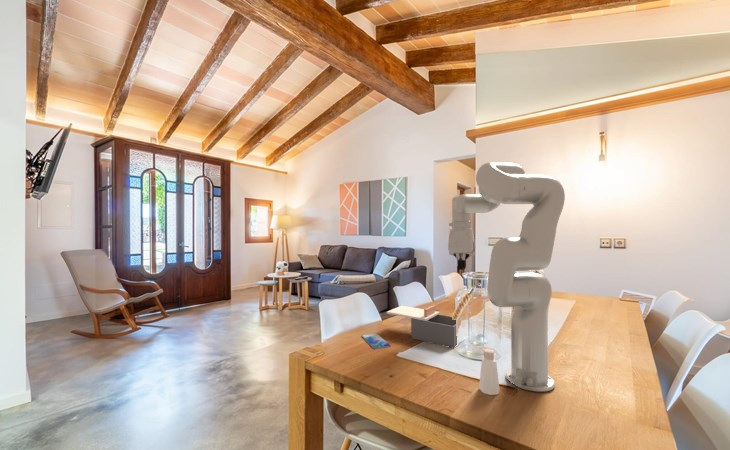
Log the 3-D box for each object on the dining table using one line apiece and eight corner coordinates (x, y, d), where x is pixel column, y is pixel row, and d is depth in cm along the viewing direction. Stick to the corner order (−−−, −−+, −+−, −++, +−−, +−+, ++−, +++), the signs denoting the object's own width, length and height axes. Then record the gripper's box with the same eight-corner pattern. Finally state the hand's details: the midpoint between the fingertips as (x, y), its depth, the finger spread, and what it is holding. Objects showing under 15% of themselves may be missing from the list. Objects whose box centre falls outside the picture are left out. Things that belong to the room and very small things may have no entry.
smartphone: (377, 333, 134) (391, 345, 120) (377, 335, 134) (391, 348, 120) (361, 334, 131) (373, 348, 117) (360, 336, 131) (373, 350, 117)
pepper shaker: (491, 397, 84) (491, 356, 84) (474, 388, 88) (474, 349, 88) (504, 391, 87) (503, 351, 87) (486, 383, 91) (486, 345, 91)
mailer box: (454, 348, 118) (454, 326, 118) (411, 338, 128) (411, 318, 128) (465, 338, 127) (465, 318, 127) (424, 330, 138) (424, 311, 138)
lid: (426, 321, 124) (426, 311, 124) (386, 313, 135) (386, 304, 135) (439, 313, 134) (439, 304, 134) (401, 307, 145) (401, 299, 145)
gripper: (441, 225, 134) (441, 269, 134) (476, 225, 125) (477, 272, 125) (448, 225, 140) (448, 267, 140) (482, 225, 131) (482, 269, 131)
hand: (461, 269), depth 133 cm, fingers closed
